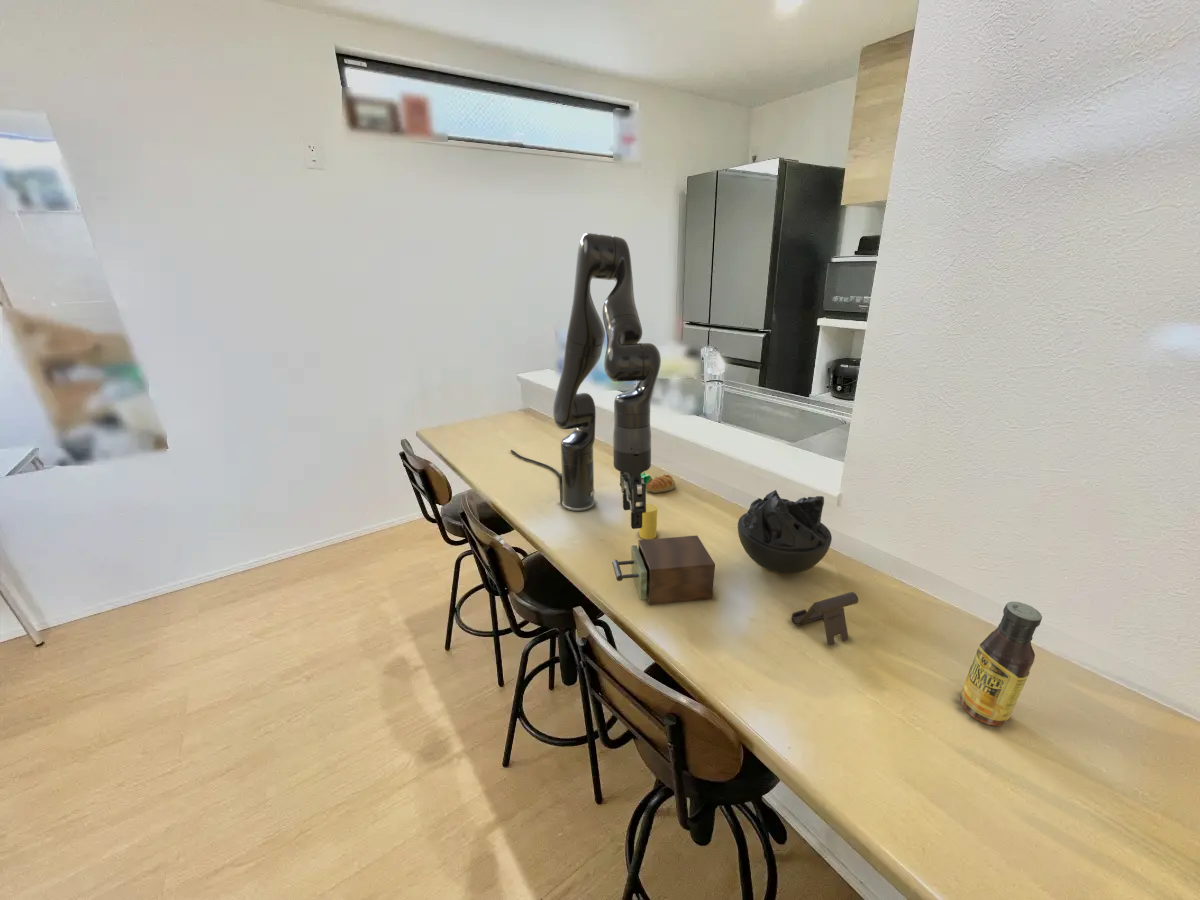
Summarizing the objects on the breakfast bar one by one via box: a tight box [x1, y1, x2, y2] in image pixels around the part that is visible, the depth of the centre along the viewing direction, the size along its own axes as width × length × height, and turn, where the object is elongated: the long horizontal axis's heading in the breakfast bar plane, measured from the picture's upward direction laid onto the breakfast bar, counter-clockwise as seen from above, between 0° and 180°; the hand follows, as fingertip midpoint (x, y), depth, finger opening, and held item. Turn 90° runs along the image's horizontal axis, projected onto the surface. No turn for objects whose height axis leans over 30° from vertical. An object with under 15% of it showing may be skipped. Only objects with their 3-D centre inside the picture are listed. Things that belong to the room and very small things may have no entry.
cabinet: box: [637, 535, 716, 606], centre depth 107 cm, size 14×12×9 cm
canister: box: [639, 503, 658, 540], centre depth 127 cm, size 4×4×8 cm
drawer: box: [611, 544, 649, 601], centre depth 106 cm, size 17×10×7 cm, turn 98°
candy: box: [641, 471, 653, 486], centre depth 162 cm, size 12×3×4 cm
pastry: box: [646, 473, 677, 494], centre depth 154 cm, size 9×7×4 cm
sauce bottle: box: [960, 601, 1043, 727], centre depth 73 cm, size 7×6×20 cm
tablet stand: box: [790, 591, 859, 646], centre depth 93 cm, size 9×8×8 cm
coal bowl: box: [737, 489, 833, 575], centre depth 111 cm, size 20×20×19 cm
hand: (632, 518), depth 103 cm, fingers open, 8 cm apart
